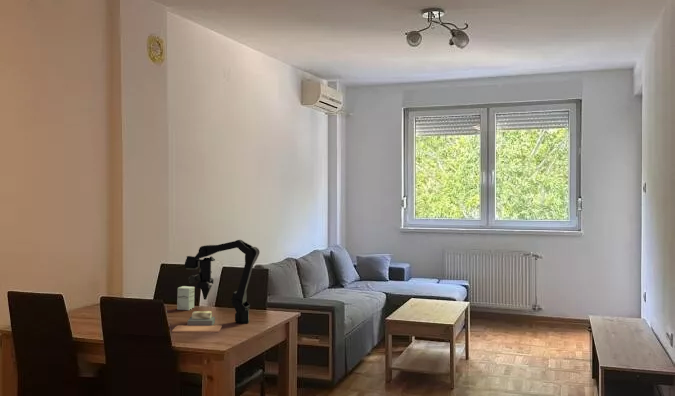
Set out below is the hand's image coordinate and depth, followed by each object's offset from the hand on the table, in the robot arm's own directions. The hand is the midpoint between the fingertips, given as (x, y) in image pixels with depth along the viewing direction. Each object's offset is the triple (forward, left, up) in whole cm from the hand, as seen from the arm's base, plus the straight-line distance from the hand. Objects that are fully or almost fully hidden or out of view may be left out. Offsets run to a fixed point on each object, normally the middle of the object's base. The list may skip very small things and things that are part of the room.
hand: (205, 299), depth 319 cm
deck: (0, +10, -11) cm, 15 cm away
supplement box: (+16, -32, -11) cm, 38 cm away
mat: (0, +21, -11) cm, 24 cm away
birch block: (0, +8, -7) cm, 11 cm away
